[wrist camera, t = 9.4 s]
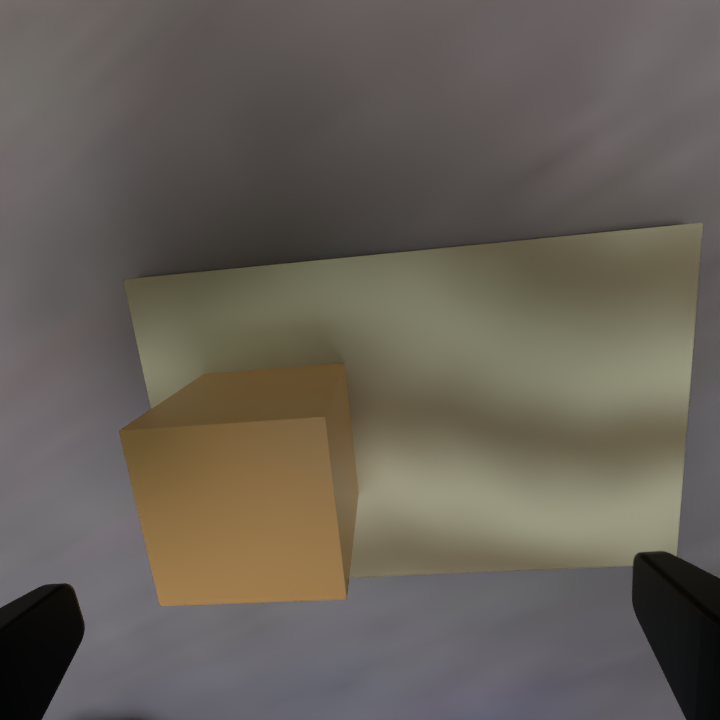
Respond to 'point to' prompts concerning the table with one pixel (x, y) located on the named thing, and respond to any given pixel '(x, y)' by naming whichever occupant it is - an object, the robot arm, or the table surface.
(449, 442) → the birch board
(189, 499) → the tan wooden cube
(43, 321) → the table surface
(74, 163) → the table surface
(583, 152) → the table surface
